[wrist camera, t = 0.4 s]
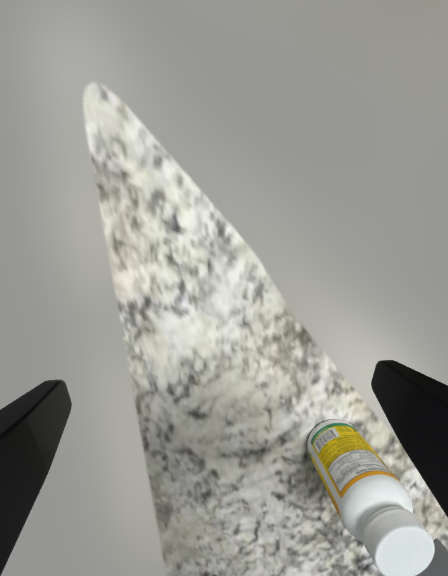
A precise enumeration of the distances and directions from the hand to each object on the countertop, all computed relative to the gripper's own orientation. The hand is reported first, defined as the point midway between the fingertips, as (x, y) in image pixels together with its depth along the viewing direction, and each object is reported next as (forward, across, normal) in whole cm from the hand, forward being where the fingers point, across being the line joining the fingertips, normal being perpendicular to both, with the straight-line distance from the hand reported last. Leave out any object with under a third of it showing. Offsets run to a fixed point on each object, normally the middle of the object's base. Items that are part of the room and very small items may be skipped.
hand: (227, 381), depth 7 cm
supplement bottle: (+11, -12, +19) cm, 25 cm away
